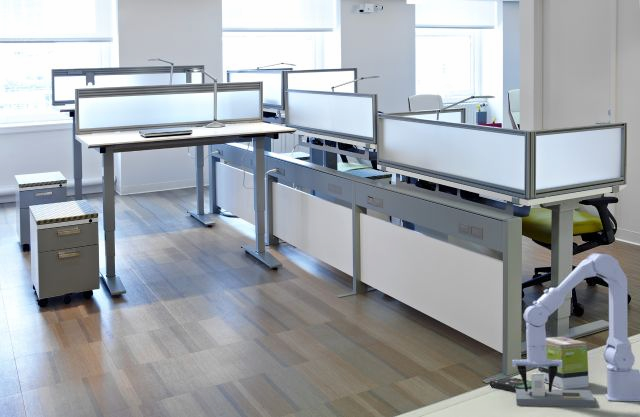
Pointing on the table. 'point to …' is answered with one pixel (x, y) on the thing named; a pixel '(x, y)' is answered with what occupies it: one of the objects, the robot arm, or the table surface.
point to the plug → (538, 384)
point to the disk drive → (510, 384)
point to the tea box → (567, 362)
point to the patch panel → (556, 398)
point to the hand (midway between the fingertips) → (538, 391)
